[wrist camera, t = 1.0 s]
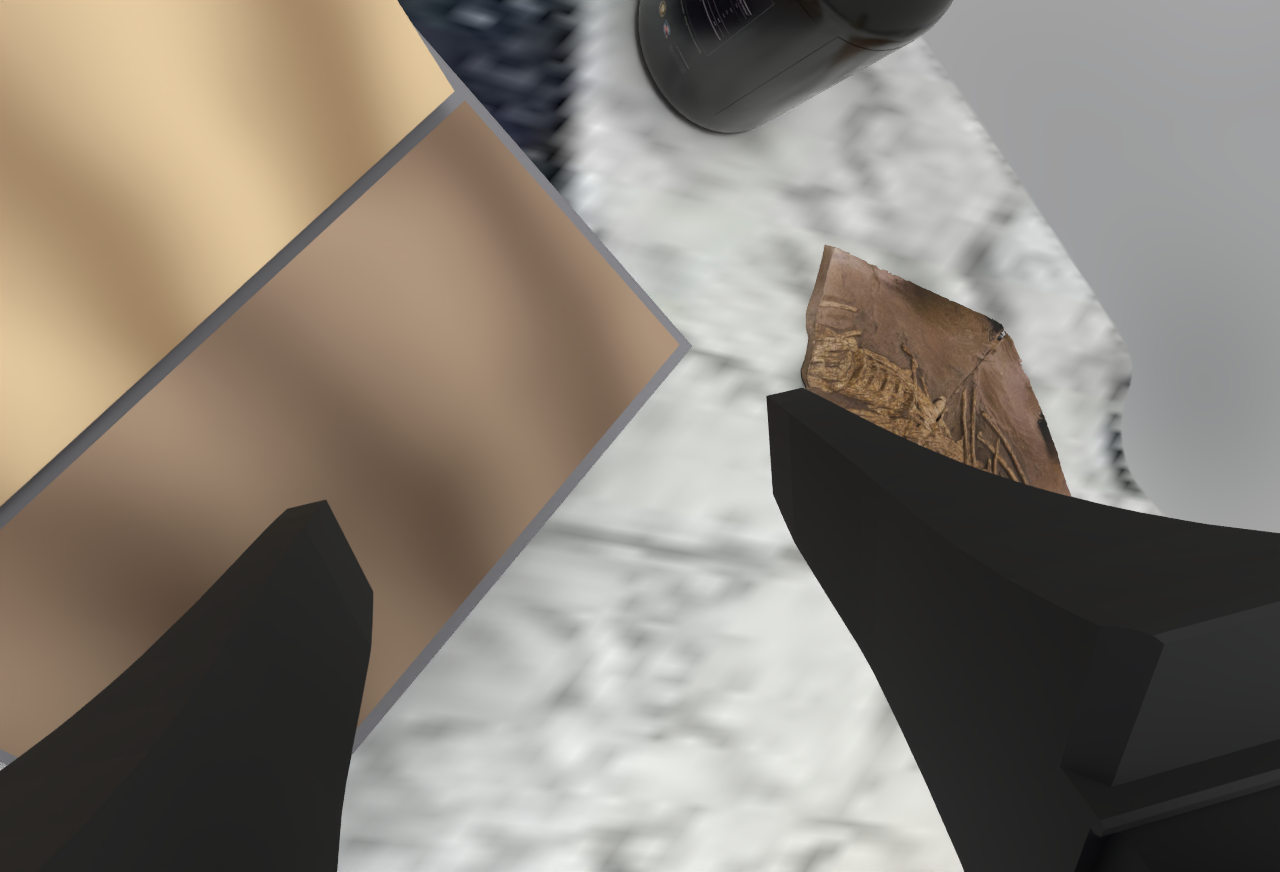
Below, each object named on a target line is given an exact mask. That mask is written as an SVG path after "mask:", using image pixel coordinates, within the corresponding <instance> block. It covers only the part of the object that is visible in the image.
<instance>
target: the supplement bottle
mask: <svg viewBox="0 0 1280 872" xmlns="http://www.w3.org/2000/svg"><path fill="white" fill-rule="evenodd" d="M952 2H953V0H640V4H639V14H638V25H639V37H640V43H641V48H642V52H643V55H644V59H645V62H646V64H647V67H648V70H649V72H650V74H651V76H652V78H653V80H654V82H655V83H656V85H657V87H658V88H659V90H660V91H661V93H662V94H663V96H664V97H665V98H666V99H667V100H668V102H669V103H670V104H671V105H672V106H673V107H674V108H675V109H676V110H677V111H678V112H679V113H681V114H682V115H683V116H684V117H686V118H687V119H689V120H690V121H692V122H694V123H695V124H697V125H700V126H702V127H704V128H707V129H709V130H713V131H717V132H724V133H736V132H743V131H747V130H750V129H753V128H755V127H758V126H760V125H762V124H764V123H766V122H768V121H770V120H771V119H774V118H776V117H777V116H779V115H781V114H783V113H785V112H786V111H788V110H790V109H792V108H794V107H795V106H797V105H799V104H801V103H803V102H804V101H806V100H808V99H810V98H812V97H813V96H815V95H817V94H819V93H821V92H823V91H824V90H826V89H828V88H830V87H832V86H833V85H835V84H837V83H839V82H841V81H842V80H844V79H846V78H848V77H850V76H851V75H853V74H855V73H857V72H859V71H860V70H862V69H864V68H866V67H868V66H869V65H871V64H873V63H875V62H877V61H878V60H880V59H882V58H884V57H886V56H887V55H889V54H891V53H893V52H895V51H896V50H898V49H900V48H902V47H903V46H905V45H907V44H909V43H910V42H912V41H914V40H915V39H917V38H918V37H920V36H921V35H923V34H924V33H926V32H927V31H928V30H929V29H931V28H932V27H933V26H934V24H936V23H937V22H938V20H940V18H941V17H942V16H943V15H944V13H945V12H946V11H947V9H948V8H949V7H950V5H951V3H952Z"/></svg>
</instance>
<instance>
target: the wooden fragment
mask: <svg viewBox="0 0 1280 872" xmlns="http://www.w3.org/2000/svg"><path fill="white" fill-rule="evenodd" d="M806 330H807V334H808V335H809V337H808V345H807V351H806V355H805V360H804V363H803V366H802V369H801V372H802V380H803V381H804V383H805V384H806V385H805V386H806V390H808V391H811V392H813V393H815V394H817V395H819V396H821V397H823V398H825V399H827V400H829V401H831V402H833V403H835V404H837V405H838V406H840V407H842V408H844V409H846V410H848V411H850V412H852V413H854V414H856V415H858V416H860V417H862V418H864V419H866V420H868V421H870V422H872V423H874V424H876V425H878V426H880V427H882V428H884V429H886V430H888V431H890V432H892V433H894V434H897V435H899V436H901V437H903V438H905V439H907V440H910V441H912V442H914V443H916V444H918V445H921V446H923V447H925V448H928V449H930V450H933V451H935V452H937V453H940V454H942V455H945V456H947V457H949V458H952V459H954V460H957V461H959V462H962V463H964V464H967V465H970V466H973V467H975V468H978V469H981V470H984V471H987V472H990V473H993V474H996V475H999V476H1002V477H1005V478H1008V479H1011V480H1014V481H1017V482H1020V483H1023V484H1026V485H1030V486H1033V487H1037V488H1040V489H1044V490H1047V491H1051V492H1054V493H1058V494H1062V495H1066V496H1070V497H1071V494H1070V491H1069V489H1068V487H1067V485H1066V480H1065V478H1064V474H1063V472H1062V469H1061V466H1060V461H1059V458H1058V453H1057V451H1056V448H1055V446H1054V442H1053V440H1052V437H1051V435H1050V432H1049V429H1048V427H1047V422H1046V420H1045V417H1044V415H1043V413H1042V410H1041V408H1040V406H1039V403H1038V401H1037V399H1036V397H1035V394H1034V392H1033V390H1032V387H1031V385H1030V381H1029V379H1028V377H1027V375H1026V374H1025V373H1024V371H1023V369H1021V368H1022V365H1021V364H1020V363H1021V362H1022V360H1021V359H1020V357H1019V355H1018V353H1017V351H1016V348H1015V346H1014V343H1013V340H1012V339H1011V338H1010V336H1009V335H1008V334H1007V333H1006V332H1005V331H1004V328H1003V326H1002V324H999V322H996V321H994V320H993V319H992V320H991V319H990V318H988V317H987V316H985V315H983V314H980V313H978V312H975V311H973V310H971V309H969V308H966V307H965V306H963V305H960V304H958V303H956V302H953V301H949V300H948V299H947V298H944V297H941V296H940V295H938V294H935V293H933V292H931V291H929V290H926V289H924V288H922V287H920V286H918V285H915V284H914V283H912V282H910V281H906V280H904V279H902V278H901V277H898V276H895V275H891V273H888V271H886V270H879V269H878V268H877V267H876V266H874V265H870V264H868V263H867V262H866V261H864V260H861V259H859V258H857V257H855V256H852V255H850V253H848V252H844V251H842V250H840V249H838V248H836V247H831V246H827V245H825V246H824V252H823V258H822V261H821V265H820V269H819V273H818V276H817V280H816V284H815V287H814V290H813V293H812V296H811V298H810V301H809V304H808V307H807V311H806ZM1003 331H1004V332H1005V334H1006V335H1005V336H1003V338H1002V339H1001V341H998V340H997V337H998V336H999V335H1000V334H1001V335H1002V333H1001V332H1003Z"/></svg>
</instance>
